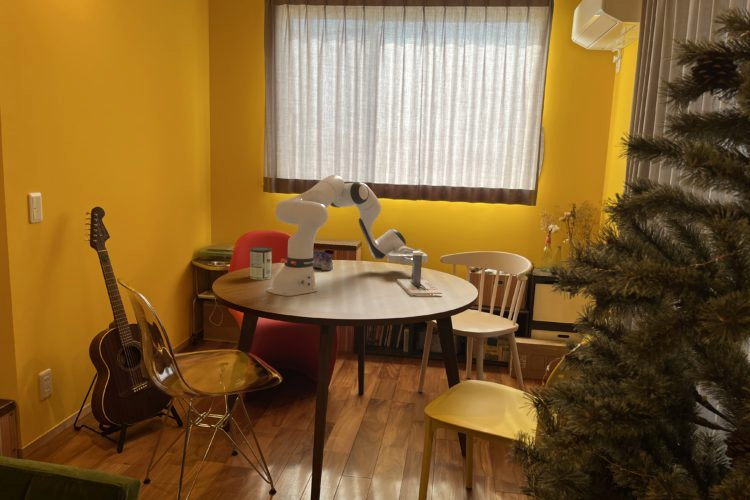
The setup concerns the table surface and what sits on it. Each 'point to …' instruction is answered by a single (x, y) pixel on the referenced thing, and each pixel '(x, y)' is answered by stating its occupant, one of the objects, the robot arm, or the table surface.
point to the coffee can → (260, 263)
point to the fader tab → (416, 268)
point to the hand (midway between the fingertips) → (410, 260)
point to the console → (414, 291)
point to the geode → (322, 261)
